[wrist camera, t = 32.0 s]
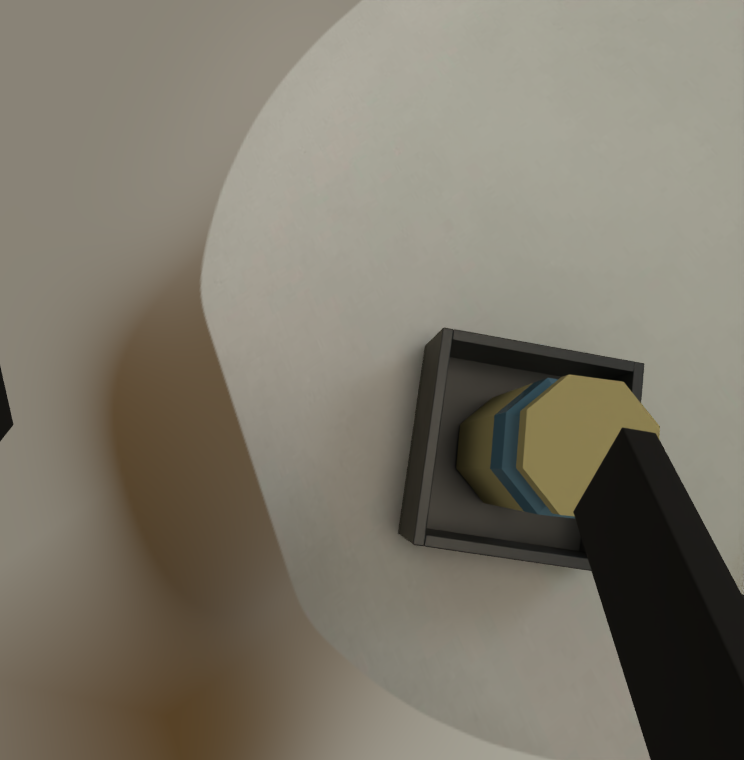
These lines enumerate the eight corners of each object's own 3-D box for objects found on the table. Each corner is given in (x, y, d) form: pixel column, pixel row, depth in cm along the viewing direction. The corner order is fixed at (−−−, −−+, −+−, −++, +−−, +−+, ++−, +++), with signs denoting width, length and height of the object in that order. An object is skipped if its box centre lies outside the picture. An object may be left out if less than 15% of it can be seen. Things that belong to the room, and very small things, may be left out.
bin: (397, 533, 48) (413, 544, 41) (424, 345, 50) (443, 327, 44) (583, 561, 49) (626, 576, 42) (600, 376, 52) (644, 363, 45)
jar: (437, 413, 49) (494, 391, 34) (540, 384, 50) (638, 350, 35) (470, 523, 48) (543, 549, 33) (574, 491, 49) (689, 502, 34)
